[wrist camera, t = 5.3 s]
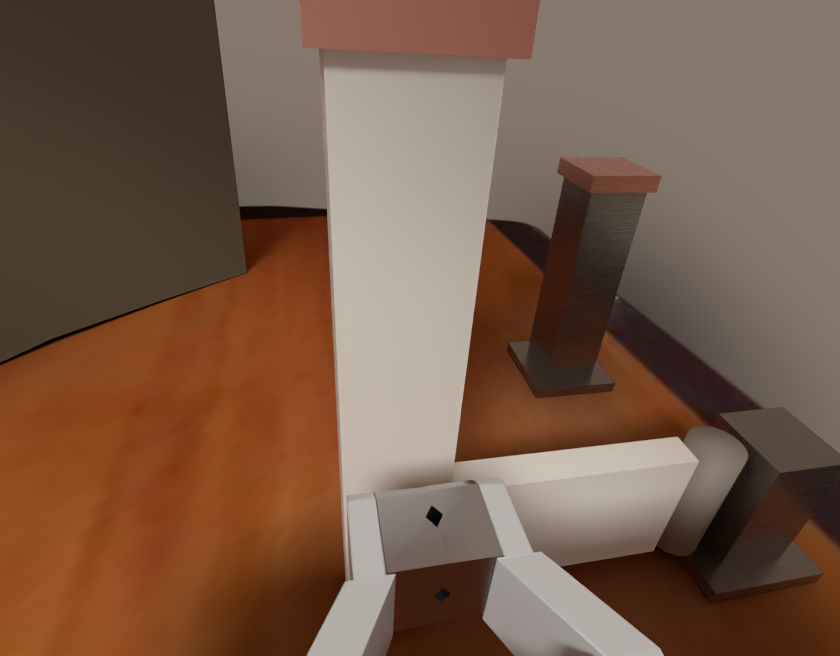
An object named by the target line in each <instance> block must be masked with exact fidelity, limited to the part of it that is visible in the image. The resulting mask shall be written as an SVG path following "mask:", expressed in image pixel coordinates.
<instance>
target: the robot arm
mask: <svg viewBox="0 0 840 656" xmlns="http://www.w3.org/2000/svg"><path fill="white" fill-rule="evenodd" d="M347 529H348V553H349V569H350V580H349V581H345V582H344V584H343V586H342V588H341V590H340V592H339V594H338V596H337V598H336V600H335V601H334V603H333V605H332V607H331V609H330V611H329V613H328V615H327V617H326V619H325V621H324V623H323V625H322V627H321V629H320V630H319V632H318V634H317V636H316V638H315V640H314V642H313V644H312V646H311V648H310V650H309V652H308V654H307V656H386V653H387V651H388V648H389V645H390V642H391V639H392V637H393V632H396V631H400V630H405V629H410V628H415V627H420V626H425V625H429V624H434V623H440V622H447V621H454V620H460V619H467V618H474V617H481V616H483V620H484V621H485V622H486V623H487V625H488V626H489V627H490V628H491V629H492V630H493V632H494V633H495V634H496V635H497V636H498V637H499V639H500V640H501V641H502V642H503V643H504V644H505V646H506V647H507V648H508V649H509V650H510V651H511V653H512V654H513V655H514V656H664V655H663V653H662V651H661V649H660V648H659V647H658V646H657V645H655V644H654V643H653V642H652V641H651V640H649V639H648V638H647V637H646V636H644V635H643V634H642V633H641V632H639V631H638V630H637V629H636V628H635V627H633V626H632V625H631V624H630V623H628V622H627V621H626V620H625V619H624V618H622V617H621V616H620V615H619V614H617V613H616V612H615V611H614V610H613V609H611V608H610V607H609V606H608V605H606V604H605V603H604V602H603V601H602V600H600V599H599V598H598V597H597V596H595V595H594V594H593V593H592V592H591V591H589V590H588V589H587V588H586V587H584V586H583V585H582V584H581V583H580V582H578V581H577V580H576V579H575V578H573V577H572V576H571V575H570V574H569V573H567V572H566V571H565V570H564V569H562V568H561V567H560V566H559V565H557V564H556V563H555V562H554V561H553V560H551V559H550V558H549V557H548V556H546V555H545V554H544V553H543V552H542V551H539V552H533V549H532V547H531V545H530V542H529V540H528V538H527V535H526V533H525V531H524V528H523V526H522V524H521V521H520V519H519V517H518V514H517V512H516V510H515V507H514V505H513V503H512V500H511V498H510V496H509V493H508V491H507V489H506V486H505V484H504V482H503V480H502V479H501V478H500V477H495V478H487V479H480V480H474V481H473V480H467V481H459V482H452V483H444V484H437V485H430V486H424V487H422V488H411V489H400V490H390V491H379V492H374V493H373V492H369V493H360V494H351V495H347Z"/></svg>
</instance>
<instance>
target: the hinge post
mask: <svg viewBox="0 0 840 656" xmlns="http://www.w3.org/2000/svg"><path fill="white" fill-rule="evenodd" d="M713 427H714V428H717V429H720V430H722V431H725V432H727V433H729V434H730V435H732V436H733V437H735V438H736V439H737V440H739V441H740V442H741V443H742V444H743V446H744V447H745V448H746V450H747V453H748V460H747V462H746V463H745V465H744V467H743V468H742V470H741V472H740V474H739V475H738V477H737V479H736V480H735V482H734V484H733V486H732V487H731V489H730V491H729V492H728V494H727V496H726V498H725V499H724V501H723V503H722V504H721V506H720V508H719V510H718V511H717V513H716V515H715V516H714V518H713V520H712V521H711V523H710V525H709V527H708V528H707V530H706V532H705V533H704V535H703V537H702V539H701V540H700V542H699V544H698V545H697V547H696V549H695V551H694V552H693V553H692V554H690V555H687V556H679V558H680V559H681V561H682V562H683V564H684V565H685V567H686V568H687V569H688V571H689V572H690V574H691V575H692V577H693V578H694V580H695V581H696V582H697V584H698V585H699V587H700V588H701V590H702V591H703V593H704V594H705V596H706V597H707V598H708V600H709V601H710V602H715V601H720V600H726V599H731V598H736V597H741V596H746V595H751V594H757V593H762V592H767V591H772V590H777V589H783V588H788V587H793V586H798V585H803V584H808V583H814V582H817V581H818V580H819V578H820V577H821V576H822V575H823V574H824V573H823V572H822V571H821V570H820V569H819V568H818V567H817V566H816V565H815V564H814V562H813V561H812V560H811V559H810V558H809V557H808V556H807V555H806V554H805V553H804V552H803V551H802V550H801V548H800V547H799V546H798V545H797V544H796V543H795V542H794V541H793V540H794V538H795V537H796V536H797V534H798V533H799V532H800V530H801V529H802V528H803V526H804V525H805V524H806V522H807V521H808V520H809V518H810V517H811V516H812V514H813V513H814V512H815V510H816V509H817V508H818V506H819V505H820V504H821V502H822V501H823V500H824V498H825V497H826V496H827V494H828V493H829V492H830V490H831V489H832V488H833V486H834V485H835V484H836V482H837V481H838V480H839V478H840V454H839V453H838V452H837V451H836V450H834V449H833V448H832V447H831V446H829V445H828V444H827V443H826V442H824V441H823V440H822V439H821V438H820V437H818V436H817V435H816V434H815V433H814V432H812V431H811V430H810V429H809V428H807V427H806V426H805V425H804V424H803V423H801V422H800V421H799V420H798V419H797V418H795V417H794V416H793V415H792V414H790V413H789V412H788V411H787V410H786V409H784V408H783V407H778V408H769V409H760V410H750V411H741V412H732V413H722V414H719V415H718V417H717V419H716V421H715V423H714V425H713Z"/></svg>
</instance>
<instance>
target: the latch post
mask: <svg viewBox="0 0 840 656" xmlns="http://www.w3.org/2000/svg"><path fill="white" fill-rule="evenodd" d="M557 173H559V174H560V175H562V176H563V177H564V181H563V185H562V190H561V195H560V200H559V205H558V209H557V214H556V219H555V224H554V228H553V233H552V238H551V243H550V248H549V252H548V257H547V262H546V267H545V272H544V276H543V281H542V286H541V291H540V296H539V300H538V305H537V310H536V315H535V320H534V324H533V329H532V334H531V339H530V341H524V342H510V343H508V348H507V350H508V352H509V354H510V355H511V357H512V359H513V360H514V362H515V364H516V365H517V367H518V369H519V370H520V372H521V374H522V375H523V377H524V379H525V380H526V382H527V384H528V385H529V387H530V389H531V390H532V392H533V394H534V395H535V397H536V398H540V397H551V396H562V395H572V394H583V393H594V392H605V391H613V388H614V385H615V382H614V381H613V380H612V379H611V378H610V377H609V375H608V374H607V373H606V372H605V371H604V369H603V368H602V367H601V366H600V365H599V363H598V362H597V361H596V359H597V356H598V353H599V349H600V346H601V343H602V339H603V336H604V333H605V330H606V326H607V323H608V320H609V316H610V313H611V310H612V306H613V303H614V300H615V297H616V293H617V290H618V287H619V283H620V280H621V277H622V273H623V270H624V267H625V263H626V260H627V257H628V253H629V250H630V247H631V244H632V240H633V237H634V234H635V230H636V227H637V224H638V221H639V217H640V214H641V211H642V207H643V204H644V201H645V197H646V194H647V192H657V189H658V186H659V183H660V180H661V177H662V176H661V175H659V174H656V173H654V172H652V171H650V170H647V169H645V168H643V167H641V166H639V165H636V164H634V163H632V162H630V161H628V160H625V159H623V158H582V157H581V158H580V157H561V158H560V162H559V166H558V171H557Z"/></svg>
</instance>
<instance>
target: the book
mask: <svg viewBox="0 0 840 656" xmlns="http://www.w3.org/2000/svg"><path fill="white" fill-rule="evenodd" d="M244 273H247V268H246V259H245V251H244V243H243V235H242V227H241V218H240V210H239V202H238V195H237V186H236V178H235V169H234V161H233V153H232V146H231V136H230V128H229V120H228V112H227V103H226V95H225V87H224V79H223V71H222V62H221V54H220V46H219V38H218V30H217V22H216V13H215V6H214V0H0V362H2V361H5V360H7V359H9V358H11V357H13V356H15V355H18V354H20V353H22V352H24V351H26V350H29V349H31V348H33V347H35V346H37V345H39V344H42V343H44V342H46V341H48V340H50V339H53V338H55V337H58V336H61V335H64V334H67V333H70V332H73V331H75V330H78V329H81V328H84V327H87V326H90V325H93V324H95V323H98V322H101V321H104V320H107V319H110V318H113V317H115V316H118V315H121V314H124V313H127V312H130V311H133V310H135V309H138V308H141V307H144V306H147V305H150V304H153V303H155V302H158V301H161V300H164V299H167V298H170V297H173V296H176V295H179V294H182V293H186V292H189V291H192V290H195V289H198V288H201V287H204V286H207V285H210V284H213V283H216V282H219V281H222V280H226V279H229V278H232V277H235V276H238V275H241V274H244Z"/></svg>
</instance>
